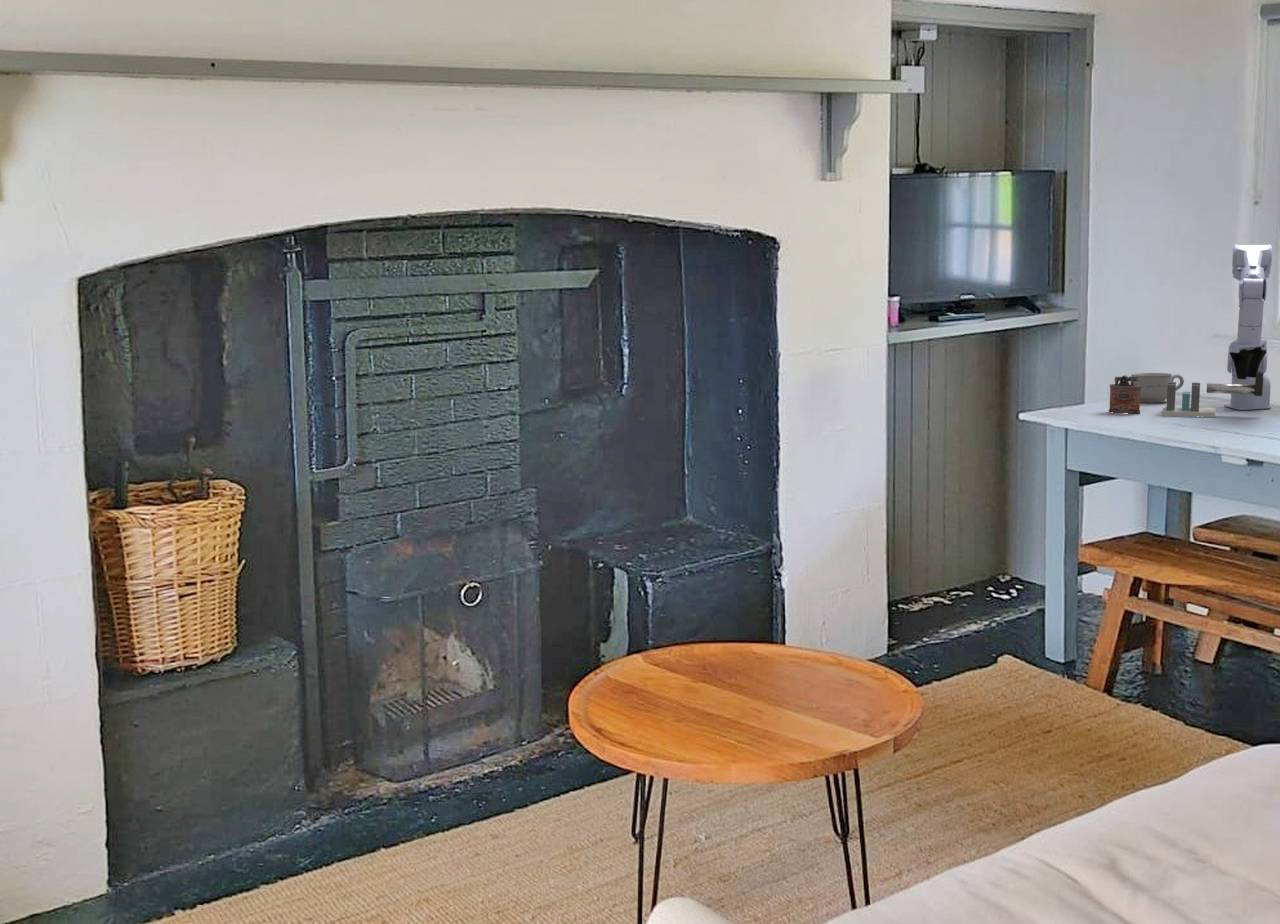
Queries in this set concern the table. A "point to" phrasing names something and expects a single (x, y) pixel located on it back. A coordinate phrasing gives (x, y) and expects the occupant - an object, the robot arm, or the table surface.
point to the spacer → (1185, 401)
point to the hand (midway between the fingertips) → (1246, 378)
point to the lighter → (1125, 395)
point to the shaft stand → (1193, 410)
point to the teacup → (1155, 385)
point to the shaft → (1239, 387)
